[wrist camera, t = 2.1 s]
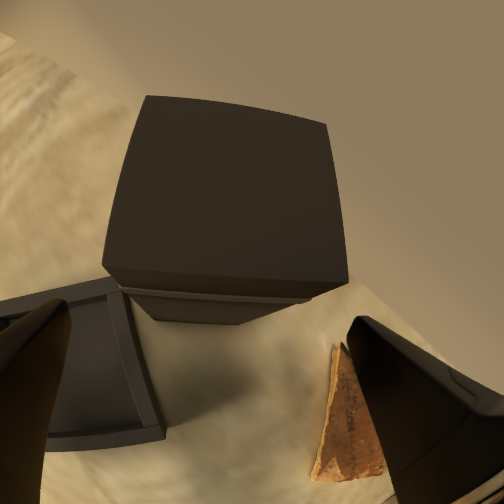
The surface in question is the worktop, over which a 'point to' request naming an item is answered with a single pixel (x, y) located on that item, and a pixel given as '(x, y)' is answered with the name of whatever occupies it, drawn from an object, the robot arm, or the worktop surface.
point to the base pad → (97, 371)
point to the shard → (347, 429)
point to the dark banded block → (224, 213)
